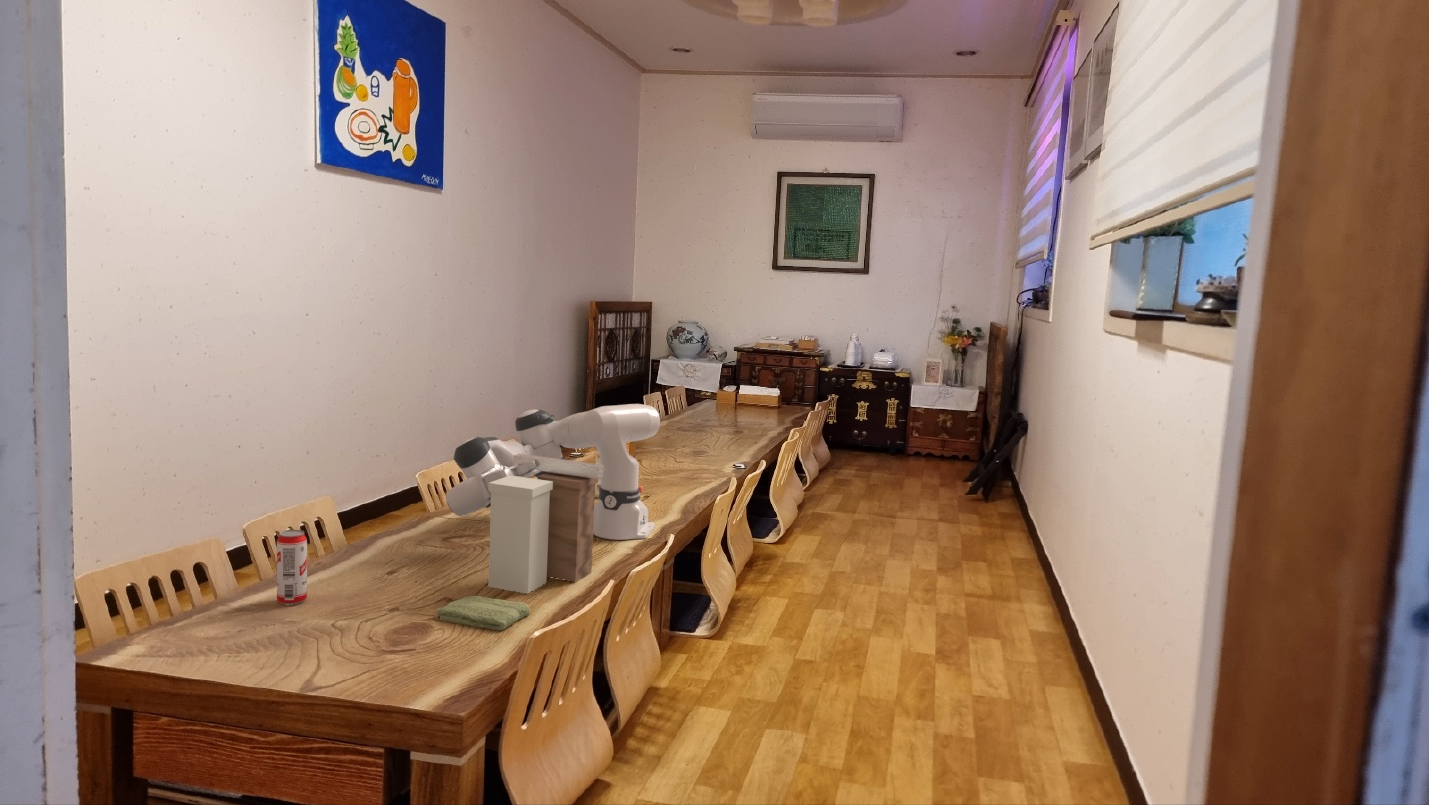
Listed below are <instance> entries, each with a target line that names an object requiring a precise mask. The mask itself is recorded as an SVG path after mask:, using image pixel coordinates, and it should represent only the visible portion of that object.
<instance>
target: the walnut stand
mask: <svg viewBox="0 0 1429 805" xmlns="http://www.w3.org/2000/svg"><path fill="white" fill-rule="evenodd" d="M536 479H540V480H547V481H553V489H552V490H550V500H549V527H548V553H547V577H553V578H559V579H565V580H569V581H573V582H572V583H575V582H576V581H577V582H578V580H579V579H580V580H582V579H583V578H582V577H584V578H585V577H587V576H588V575H590V574H591V573H592V569H593V568H592V565H593V564H592V563H593V545H594V542H593V540H594V534H593V523H594V506H595V500H596V497H595V484H596V483H598V479H595V478H588V477H581V476H574V475H567V474H560V473H552V472H547V473H545V474H542V475H539V476H537V477H536ZM581 578H582V579H581ZM580 580H579V581H580ZM569 581H568V582H569ZM577 582H576V583H577Z"/></svg>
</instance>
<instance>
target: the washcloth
mask: <svg viewBox="0 0 1429 805" xmlns="http://www.w3.org/2000/svg"><path fill="white" fill-rule="evenodd" d="M435 613H436V614H437V615H438V616H439V621H442V622H448V623H453V624H459V625H463V626H464V625H465V626H471V627H474V628H480V629H489V630H493V631H504V630H506V629H507V628H508V627H511V626H512V625H514V623H516V622H517V621H520V620H519V619H521V620H522V619H524V618H526V617H528V616H527V615H530V613H531V609H530V607H529V605H528V604H527V603H526V602H522V601H509V600H507V599H498V598H491V597H490V598H489V597H485V596H480V595H469V596H465V597H463V598H461V599H457V600H453V601H450V602H449V603H448V604H447V605H446V606H442V607H439V608H437V609H436V612H435ZM525 616H526V617H525Z"/></svg>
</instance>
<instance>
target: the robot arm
mask: <svg viewBox="0 0 1429 805" xmlns="http://www.w3.org/2000/svg"><path fill="white" fill-rule="evenodd" d="M554 418H555V415H554V414H550V413H549V412H547V411H546V410H543V409H529V410H526V411H524V412H522V413H520V415H519V416H518V417H517V418H516V419H515V420H514V423H515V424H514V425H515V430H516V432H517V434H518V439H519V441H518V440H506V441H502V440H501V439H500V438H498V437H496V436H487V437H480V436H477V437H471V438H468V439H466V440H464V441H462V442H461V443H460V444H459V445H458V446H457V447H456V448H455V450H454V453H453V460H454V462H455V463H456V465H457V466H458V468H459V469H460V470H461V472H462V473H463V475H464V477H465V478H466V479H464V480H463V481H461V482H459V483H457V484H456V485H454V486H453V487H452V488H450V489H448V491H447V492H446V493H445V499H446V500H445V501H446V504H447V505H448V508H449V509H450V511H451V512H452V513H453V514H454V515H455V516H457V517H463V516H467V515H470V514H472V513H476V512H478V511H480V510H483V509H485V508H486V509H488V508H491V491H488V483H490V482H492V481H495V480H498V479H501V478H504V477H507V476H510V475H511V476H518V477H526V478H531V477H536V478H537V476H539V475H542V474H545V473H547V472H545V471H538V470H531V469H533V468H535V467H537V466H538V464H537V462H536V461H535V460H534V461H531V462H529V463H527V464H524V465H520V464H518V465H515V466H513V464H514V455H517V454H526V455H533V456H541V457H548V458H555V459H563V460H565V458H564V457H565V456H564V455H563V453H562V452H563V451H562V448H561V447H564V448H568V449H588V448H595V449H596V448H597V450H598V453H599V456H600V460H601V465H603V477H601V486H600V487H599V497H598V501H596V502H594V523H593V536H596V537H598V538H602V539H607V540H614V541H615V540H616V541H617V540H618V541H620V540H621V541H624V540H627V541H628V540H634V539H647V537H649V535H650V534H651V533H652V532H653V530H654V528H656V523H655V522H653V521H649V509H648V507H647V506H646V505H645V504H644V503H643V502H642V500H641V494H642V493H643V491H644V487H643V486H642V485H641V486H639V471H640V465H639V461H638V460H637V459H636V458H635V457H634V456H632V455H631V454H629V452H628V448H627V443H631V442H638V441H643V440H646V439H648V438H652V437H654V436H655V435H656V434H657V433H658V431H659V430H660V426H661V418H660V414H659V412H658V411H657V409H656V408H655V407H653V406H652V405H648V404H641V403H631V404H630V403H629V404H628V403H627V404H617V405H615V404H614V405H603V406H599V407H596V408H593V409H590V410H587V411H583V412H577V413H574V414H571V415H569V416H566V417H564V418H562V419H559V420H555V419H554Z"/></svg>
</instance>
